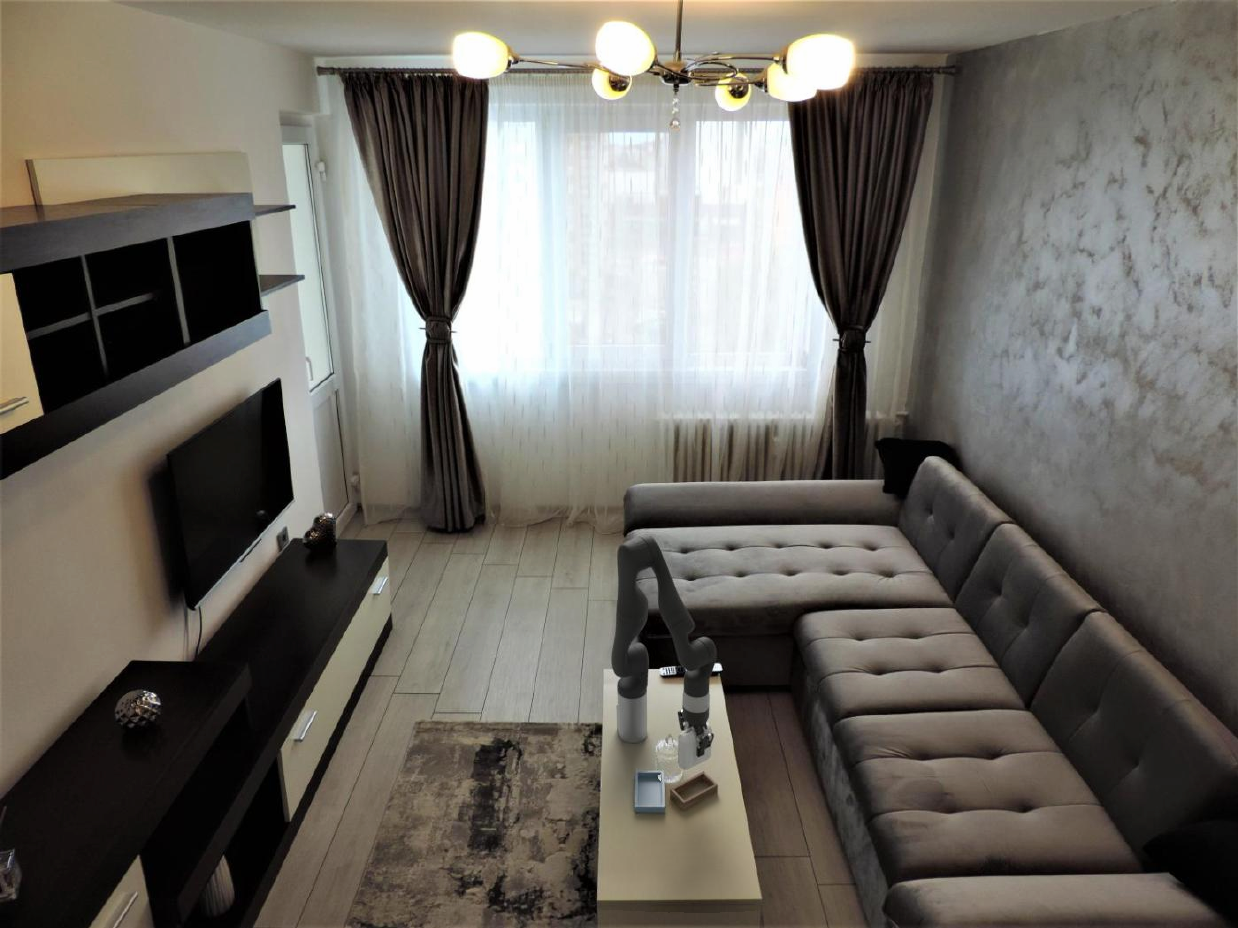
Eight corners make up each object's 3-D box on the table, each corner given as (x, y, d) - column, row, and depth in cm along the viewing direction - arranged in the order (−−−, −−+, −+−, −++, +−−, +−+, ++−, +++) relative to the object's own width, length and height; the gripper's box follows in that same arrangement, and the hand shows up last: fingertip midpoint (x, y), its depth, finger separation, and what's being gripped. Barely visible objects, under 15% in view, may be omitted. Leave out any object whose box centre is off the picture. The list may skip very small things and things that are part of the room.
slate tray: (635, 776, 260) (635, 770, 259) (663, 776, 260) (663, 770, 259) (634, 813, 247) (634, 806, 246) (665, 813, 247) (665, 806, 246)
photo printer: (703, 748, 253) (704, 715, 248) (713, 757, 249) (714, 723, 244) (675, 763, 248) (676, 729, 242) (684, 772, 244) (685, 738, 239)
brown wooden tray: (670, 796, 253) (670, 788, 252) (703, 778, 259) (703, 770, 258) (683, 810, 248) (684, 803, 247) (717, 792, 254) (717, 784, 253)
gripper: (669, 693, 243) (669, 741, 250) (701, 722, 233) (700, 771, 240) (690, 683, 247) (689, 730, 254) (723, 711, 236) (721, 759, 243)
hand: (694, 750), depth 247 cm, fingers closed on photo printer, 4 cm apart
